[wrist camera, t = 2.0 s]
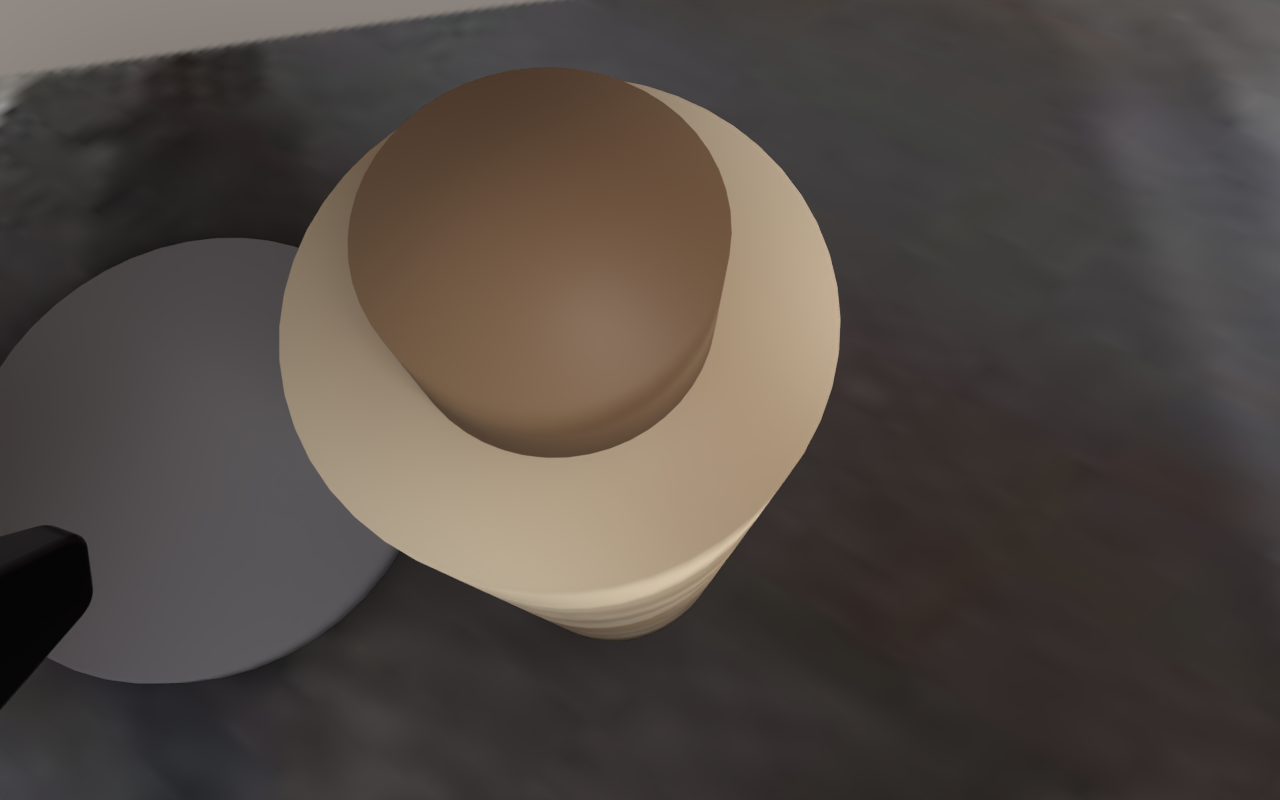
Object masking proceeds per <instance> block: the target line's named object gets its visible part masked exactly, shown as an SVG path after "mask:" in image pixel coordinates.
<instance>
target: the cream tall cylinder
mask: <svg viewBox="0 0 1280 800" xmlns="http://www.w3.org/2000/svg"><path fill="white" fill-rule="evenodd" d="M839 337H840V310H839V300H838V290H837V283H836V279H835V275H834V271H833V267H832V263H831V258H830V254H829V252H828V249H827V246H826V244H825V241H824V239H823V236H822V234H821V231H820V229H819V226H818V224H817V222H816V220H815V218H814V217H813V215H812V213H811V211H810V209H809V208H808V206H807V204H806V202H805V201H804V199H803V197H802V195H801V194H800V193H799V191H798V190H797V189H796V187H795V186H794V185H793V183H792V182H791V181H790V179H789V178H788V177H787V175H786V174H785V173H784V171H783V170H782V169H781V168H780V167H779V166H778V165H777V164H776V163H775V162H774V161H773V160H772V159H771V158H770V157H769V156H768V155H767V154H766V153H765V152H764V151H763V150H762V149H761V148H760V147H759V146H758V145H757V144H756V143H754V142H753V141H752V140H751V139H749V138H748V137H747V136H746V135H744V134H743V133H742V132H740V131H739V130H738V129H737V128H735V127H734V126H733V125H731V124H729V123H728V122H726V121H724V120H723V119H721V118H719V117H718V116H716V115H715V114H713V113H711V112H710V111H708V110H706V109H704V108H702V107H700V106H698V105H695V104H693V103H691V102H689V101H687V100H684V99H682V98H680V97H678V96H675V95H672V94H669V93H666V92H663V91H660V90H657V89H654V88H651V87H647V86H643V85H639V84H634V83H629V82H624V81H621V80H618V79H615V78H612V77H609V76H606V75H603V74H598V73H593V72H589V71H584V70H578V69H567V68H528V69H520V70H512V71H507V72H502V73H498V74H494V75H489V76H486V77H483V78H480V79H477V80H474V81H471V82H469V83H466V84H463V85H461V86H459V87H457V88H455V89H453V90H451V91H449V92H447V93H445V94H443V95H441V96H440V97H438V98H436V99H435V100H433V101H432V102H430V103H428V104H427V105H425V106H424V107H422V108H421V109H420V110H419V111H417V112H416V113H415V114H414V115H412V116H411V117H410V118H408V119H407V120H406V121H405V122H404V123H403V124H402V125H401V126H400V127H399V128H398V129H397V130H395V131H394V132H393V133H391V134H390V135H389V136H387V137H386V138H385V139H384V140H382V141H381V142H380V143H379V144H377V145H376V146H375V147H374V148H372V149H371V150H370V151H369V152H367V153H366V154H365V155H364V156H363V157H362V158H361V159H360V160H359V161H358V162H357V163H356V164H355V165H354V166H353V167H352V168H351V169H350V170H349V171H348V172H347V173H346V174H345V175H344V177H343V178H342V179H341V181H340V182H339V183H338V184H337V186H336V187H335V188H334V189H333V191H332V192H331V193H330V195H329V196H328V197H327V198H326V200H325V201H324V202H323V204H322V206H321V207H320V209H319V211H318V212H317V214H316V216H315V217H314V219H313V221H312V222H311V224H310V226H309V227H308V229H307V231H306V233H305V235H304V238H303V240H302V242H301V245H300V247H299V249H298V251H297V254H296V256H295V258H294V261H293V264H292V267H291V271H290V274H289V278H288V281H287V285H286V288H285V292H284V297H283V304H282V312H281V319H280V326H279V361H280V368H281V375H282V381H283V388H284V395H285V398H286V401H287V405H288V408H289V411H290V415H291V418H292V421H293V425H294V428H295V430H296V432H297V434H298V436H299V438H300V440H301V443H302V445H303V447H304V449H305V451H306V453H307V455H308V457H309V459H310V461H311V463H312V464H313V466H314V467H315V468H316V470H317V471H318V473H319V474H320V476H321V477H322V479H323V480H324V482H325V483H326V485H327V486H328V488H329V489H330V491H331V492H332V493H333V494H334V495H335V496H336V497H337V498H338V499H339V500H340V502H341V503H342V504H343V505H344V506H345V507H346V508H347V509H348V510H349V511H350V512H351V514H352V515H353V516H354V517H355V518H356V519H358V520H359V521H360V522H361V523H363V524H364V525H365V526H366V527H367V528H369V529H370V530H371V531H372V532H374V533H375V534H376V535H377V536H378V537H380V538H381V539H382V540H383V541H385V542H386V543H388V544H390V545H391V546H393V547H395V548H396V549H398V550H400V551H401V552H403V553H405V554H406V555H408V556H410V557H411V558H413V559H415V560H416V561H418V562H421V563H423V564H425V565H427V566H429V567H432V568H434V569H436V570H438V571H440V572H442V573H445V574H447V575H449V576H451V577H453V578H456V579H458V580H460V581H462V582H464V583H467V584H469V585H471V586H473V587H475V588H477V589H480V590H482V591H484V592H486V593H488V594H491V595H493V596H495V597H497V598H499V599H502V600H504V601H506V602H508V603H510V604H512V605H515V606H517V607H519V608H521V609H523V610H526V611H528V612H530V613H532V614H534V615H537V616H539V617H541V618H543V619H545V620H547V621H550V622H552V623H554V624H556V625H558V626H561V627H563V628H565V629H567V630H569V631H572V632H574V633H577V634H579V635H581V636H585V637H589V638H592V639H598V640H606V641H624V640H630V639H637V638H640V637H644V636H647V635H650V634H653V633H655V632H657V631H659V630H662V629H664V628H665V627H667V626H668V625H670V624H672V623H673V622H675V621H676V620H677V619H678V618H680V617H681V616H682V615H683V614H685V613H686V612H687V611H688V609H689V608H690V607H691V606H692V605H693V604H694V603H695V602H696V600H697V599H698V598H699V596H700V595H701V594H702V592H703V591H704V590H705V588H706V587H707V586H708V584H709V583H710V581H711V580H712V579H713V577H714V576H715V575H716V573H717V572H718V571H719V569H720V568H721V566H722V565H723V564H724V562H725V561H726V560H727V558H728V557H729V556H730V554H731V553H732V552H733V550H734V549H735V547H736V546H737V545H738V543H739V542H740V541H741V539H742V538H743V537H744V535H745V534H746V532H747V531H748V530H749V528H750V527H751V526H752V524H753V523H754V522H755V520H756V519H757V518H758V516H759V515H760V513H761V512H762V511H763V509H764V508H765V507H766V505H767V504H768V503H769V501H770V500H771V499H772V497H773V496H774V494H775V493H776V492H777V490H778V489H779V488H780V486H781V485H782V484H783V482H784V481H785V479H786V478H787V476H788V475H789V474H790V472H791V471H792V469H793V468H794V467H795V465H796V464H797V462H798V461H799V460H800V458H801V457H802V455H803V454H804V452H805V450H806V448H807V446H808V444H809V442H810V440H811V438H812V436H813V435H814V433H815V431H816V429H817V427H818V425H819V423H820V421H821V418H822V415H823V412H824V409H825V406H826V404H827V401H828V398H829V395H830V392H831V389H832V385H833V380H834V375H835V370H836V365H837V360H838V354H839Z"/></svg>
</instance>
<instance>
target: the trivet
mask: <svg viewBox="0 0 1280 800" xmlns="http://www.w3.org/2000/svg"><path fill="white" fill-rule="evenodd" d="M298 249H299V248H297V247H294V246H290V245H285V244H281V243H277V242H273V241H267V240H258V239H248V238H213V239H205V240H197V241H189V242H184V243H180V244H176V245H172V246H167V247H163V248H159V249H156V250H154V251H151V252H148V253H145V254H142V255H139V256H137V257H134V258H131V259H129V260H127V261H125V262H123V263H121V264H119V265H117V266H114V267H112V268H110V269H108V270H106V271H104V272H103V273H101V274H99V275H98V276H96V277H94V278H93V279H91V280H89V281H88V282H86V283H85V284H83V285H81V286H80V287H78V288H77V289H76V290H74V291H73V292H72V293H70V294H69V295H68V296H66V297H65V298H64V299H63V300H61V301H60V302H59V303H57V304H56V305H55V306H54V307H53V308H52V309H50V310H49V311H48V312H47V313H46V314H45V315H44V316H43V317H42V318H41V319H40V320H39V321H38V322H37V323H36V324H34V325H33V326H32V328H31V329H30V330H29V331H28V332H27V333H26V335H25V336H24V337H23V338H22V339H21V340H20V341H19V343H18V344H17V345H16V346H15V347H14V348H13V350H12V351H11V353H10V354H9V355H8V357H7V358H6V360H5V361H4V363H3V364H2V365H1V367H0V536H3V535H7V534H10V533H14V532H18V531H21V530H25V529H29V528H32V527H37V526H41V525H52V526H56V527H59V528H62V529H64V530H67V531H70V532H73V533H75V534H78V535H80V536H82V537H83V538H84V540H85V541H86V543H87V546H88V552H89V559H90V567H91V575H92V582H93V597H92V600H91V602H90V605H89V607H88V608H87V610H86V612H85V613H84V614H83V616H82V617H81V618H80V619H79V620H78V621H77V623H76V624H75V625H74V626H73V627H72V628H71V629H70V631H69V632H68V633H67V634H66V635H65V636H64V637H63V639H62V640H61V641H60V642H59V643H58V644H57V645H56V647H55V648H54V649H53V650H52V651H51V652H50V654H49V655H48V656H47V658H49V659H51V660H53V661H55V662H58V663H60V664H62V665H64V666H66V667H68V668H70V669H72V670H75V671H78V672H81V673H85V674H88V675H92V676H95V677H99V678H102V679H107V680H114V681H122V682H129V683H188V682H199V681H206V680H213V679H220V678H226V677H229V676H233V675H237V674H240V673H244V672H247V671H251V670H254V669H257V668H260V667H262V666H264V665H267V664H269V663H272V662H274V661H276V660H279V659H281V658H283V657H286V656H288V655H289V654H291V653H293V652H295V651H296V650H298V649H300V648H302V647H303V646H305V645H307V644H309V643H310V642H312V641H314V640H316V639H317V638H318V637H320V636H321V635H322V634H324V633H325V632H326V631H328V630H329V629H330V628H332V627H333V626H334V625H336V624H337V623H338V622H340V621H341V620H342V619H343V618H344V617H345V616H347V615H348V614H349V613H350V612H351V611H352V610H353V609H354V608H355V607H356V606H357V605H358V604H359V603H360V602H361V601H362V600H363V599H364V598H366V596H367V595H368V594H369V593H370V592H371V590H372V589H373V588H374V587H375V586H376V584H377V583H378V582H379V581H380V580H381V578H382V577H383V576H384V575H385V574H386V572H387V571H388V569H389V568H390V566H391V565H392V563H393V562H394V560H395V558H396V557H397V555H398V554H399V552H400V550H398V549H396V548H395V547H393V546H391V545H390V544H388V543H386V542H385V541H383V540H382V539H381V538H380V537H378V536H377V535H376V534H375V533H374V532H372V531H371V530H370V529H369V528H367V527H366V526H365V525H364V524H363V523H361V522H360V521H359V520H358V519H356V518H355V517H354V516H353V515H352V514H351V512H350V511H349V510H348V509H347V508H346V507H345V506H344V505H343V504H342V503H341V502H340V500H339V499H338V498H337V497H336V496H335V495H334V494H333V493H332V492H331V491H330V489H329V488H328V486H327V485H326V483H325V482H324V480H323V479H322V477H321V476H320V474H319V473H318V471H317V470H316V468H315V467H314V466H313V464H312V463H311V461H310V459H309V457H308V455H307V453H306V451H305V449H304V447H303V445H302V443H301V440H300V438H299V436H298V434H297V432H296V430H295V428H294V425H293V421H292V418H291V415H290V411H289V408H288V405H287V401H286V398H285V395H284V388H283V381H282V375H281V368H280V361H279V326H280V319H281V312H282V304H283V297H284V292H285V288H286V285H287V281H288V278H289V274H290V271H291V267H292V264H293V261H294V258H295V256H296V254H297V251H298Z"/></svg>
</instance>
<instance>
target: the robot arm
mask: <svg viewBox="0 0 1280 800" xmlns="http://www.w3.org/2000/svg"><path fill="white" fill-rule="evenodd" d="M92 597H93V582H92V575H91V567H90V559H89V552H88V546H87V543H86V541H85V540H84V538H83V537H82V536H80V535H78V534H75V533H73V532H70V531H67V530H64V529H62V528H59V527H56V526H52V525H41V526H37V527H32V528H29V529H25V530H21V531H18V532H14V533H10V534H7V535H3V536H0V710H1V709H2V707H3V706H4V705H5V704H6V703H7V702H8V701H9V699H10V698H11V697H12V696H13V695H14V694H15V693H16V691H17V690H18V689H19V688H20V687H21V686H22V684H23V683H24V682H25V681H26V680H27V679H28V678H29V676H30V675H31V674H32V673H33V672H34V671H35V670H36V668H37V667H38V666H39V665H40V664H41V663H42V662H43V660H44V659H45V658H46V657H47V656H48V655H49V654H50V652H51V651H52V650H53V649H54V648H55V647H56V645H57V644H58V643H59V642H60V641H61V640H62V639H63V637H64V636H65V635H66V634H67V633H68V632H69V631H70V629H71V628H72V627H73V626H74V625H75V624H76V623H77V621H78V620H79V619H80V618H81V617H82V616H83V614H84V613H85V612H86V610H87V608H88V607H89V605H90V602H91V600H92Z"/></svg>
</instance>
